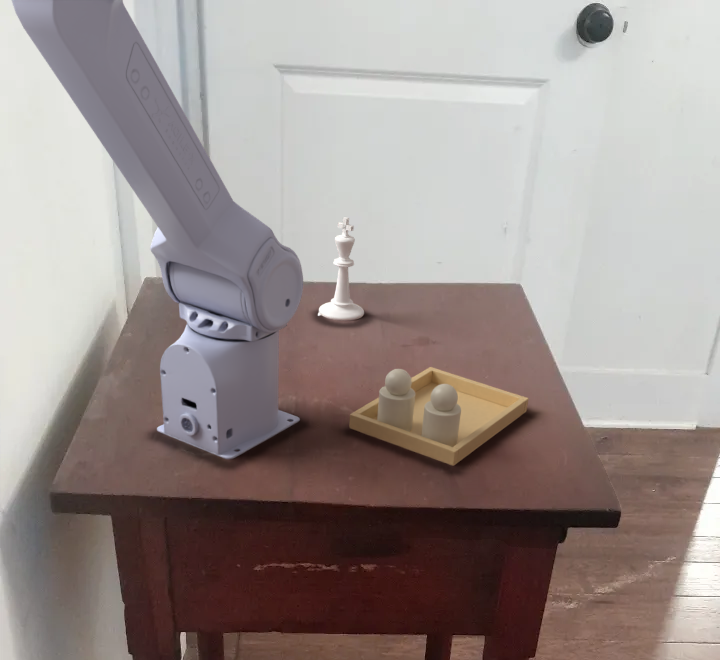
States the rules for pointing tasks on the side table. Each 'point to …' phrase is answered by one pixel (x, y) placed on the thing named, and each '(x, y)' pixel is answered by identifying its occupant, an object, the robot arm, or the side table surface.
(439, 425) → the pawn
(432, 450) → the chess tray
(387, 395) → the pawn
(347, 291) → the chess piece
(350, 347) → the side table surface
